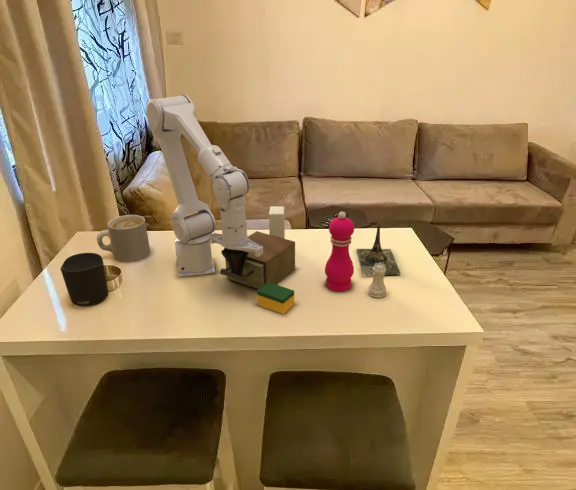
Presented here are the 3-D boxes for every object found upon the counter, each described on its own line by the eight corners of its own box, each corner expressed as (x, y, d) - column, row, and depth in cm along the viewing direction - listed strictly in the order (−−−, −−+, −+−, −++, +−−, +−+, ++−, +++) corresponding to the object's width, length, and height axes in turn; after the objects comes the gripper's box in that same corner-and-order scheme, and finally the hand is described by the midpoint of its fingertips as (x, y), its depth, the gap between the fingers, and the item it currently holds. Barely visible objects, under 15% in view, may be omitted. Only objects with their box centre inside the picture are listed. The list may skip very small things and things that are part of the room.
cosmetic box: (284, 253, 138) (284, 214, 132) (269, 253, 138) (268, 214, 132) (285, 243, 143) (284, 205, 137) (270, 243, 143) (269, 205, 138)
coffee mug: (152, 245, 143) (146, 213, 138) (148, 260, 134) (142, 228, 130) (105, 248, 141) (98, 216, 137) (98, 264, 133) (91, 231, 128)
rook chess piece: (387, 290, 120) (390, 262, 116) (384, 299, 116) (387, 271, 112) (369, 287, 121) (372, 259, 117) (366, 296, 118) (368, 268, 114)
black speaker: (61, 300, 117) (51, 264, 112) (94, 284, 124) (86, 249, 119) (85, 312, 112) (75, 275, 107) (118, 294, 119) (110, 259, 114)
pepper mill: (356, 281, 124) (361, 209, 114) (347, 295, 118) (352, 220, 108) (330, 275, 127) (333, 204, 117) (320, 288, 121) (322, 214, 111)
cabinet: (266, 292, 120) (265, 262, 116) (227, 278, 126) (225, 249, 121) (295, 269, 130) (295, 241, 125) (257, 258, 135) (256, 231, 131)
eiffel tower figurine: (401, 276, 126) (407, 229, 119) (362, 276, 126) (366, 230, 119) (390, 250, 139) (395, 207, 133) (355, 250, 139) (358, 207, 132)
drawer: (250, 299, 115) (249, 275, 112) (214, 286, 121) (212, 262, 117) (289, 269, 128) (289, 247, 125) (255, 259, 133) (254, 237, 130)
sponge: (283, 314, 111) (283, 299, 109) (257, 304, 115) (256, 290, 113) (294, 304, 115) (294, 290, 113) (268, 295, 118) (268, 281, 116)
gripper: (269, 224, 111) (271, 275, 117) (220, 211, 117) (225, 260, 124) (251, 235, 105) (254, 288, 112) (201, 221, 112) (207, 272, 119)
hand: (237, 274), depth 118 cm, fingers closed, pressing on drawer
